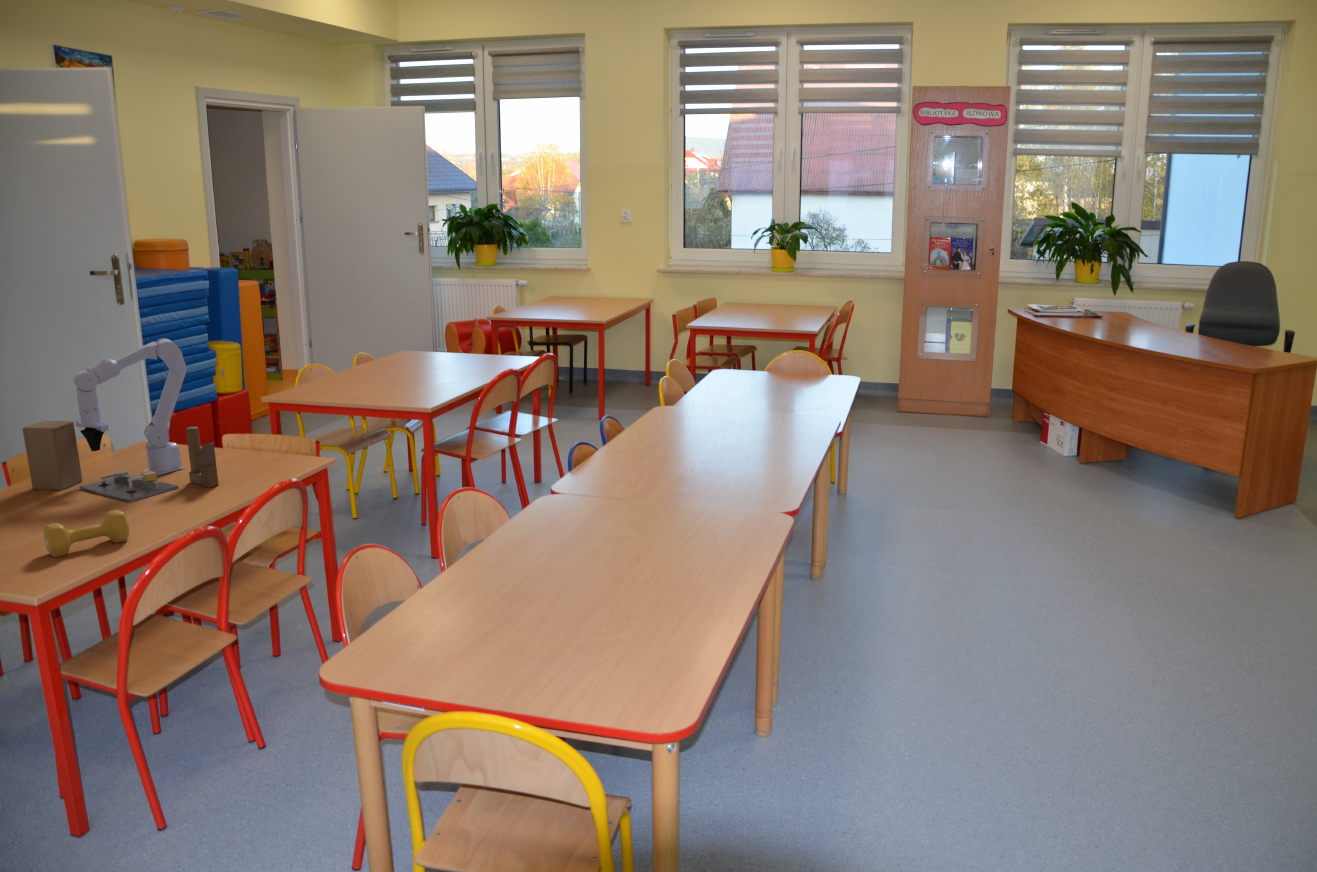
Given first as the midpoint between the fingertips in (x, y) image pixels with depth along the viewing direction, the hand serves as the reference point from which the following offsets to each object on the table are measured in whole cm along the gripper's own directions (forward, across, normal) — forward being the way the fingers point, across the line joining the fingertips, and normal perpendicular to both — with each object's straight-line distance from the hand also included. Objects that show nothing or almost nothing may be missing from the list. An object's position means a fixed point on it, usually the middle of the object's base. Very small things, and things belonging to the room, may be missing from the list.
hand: (95, 450), depth 310 cm
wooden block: (+10, -6, -10) cm, 15 cm away
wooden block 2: (+10, +33, +14) cm, 37 cm away
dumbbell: (+10, +56, -37) cm, 68 cm away
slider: (+9, +23, 0) cm, 25 cm away
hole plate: (+10, +17, -1) cm, 20 cm away
